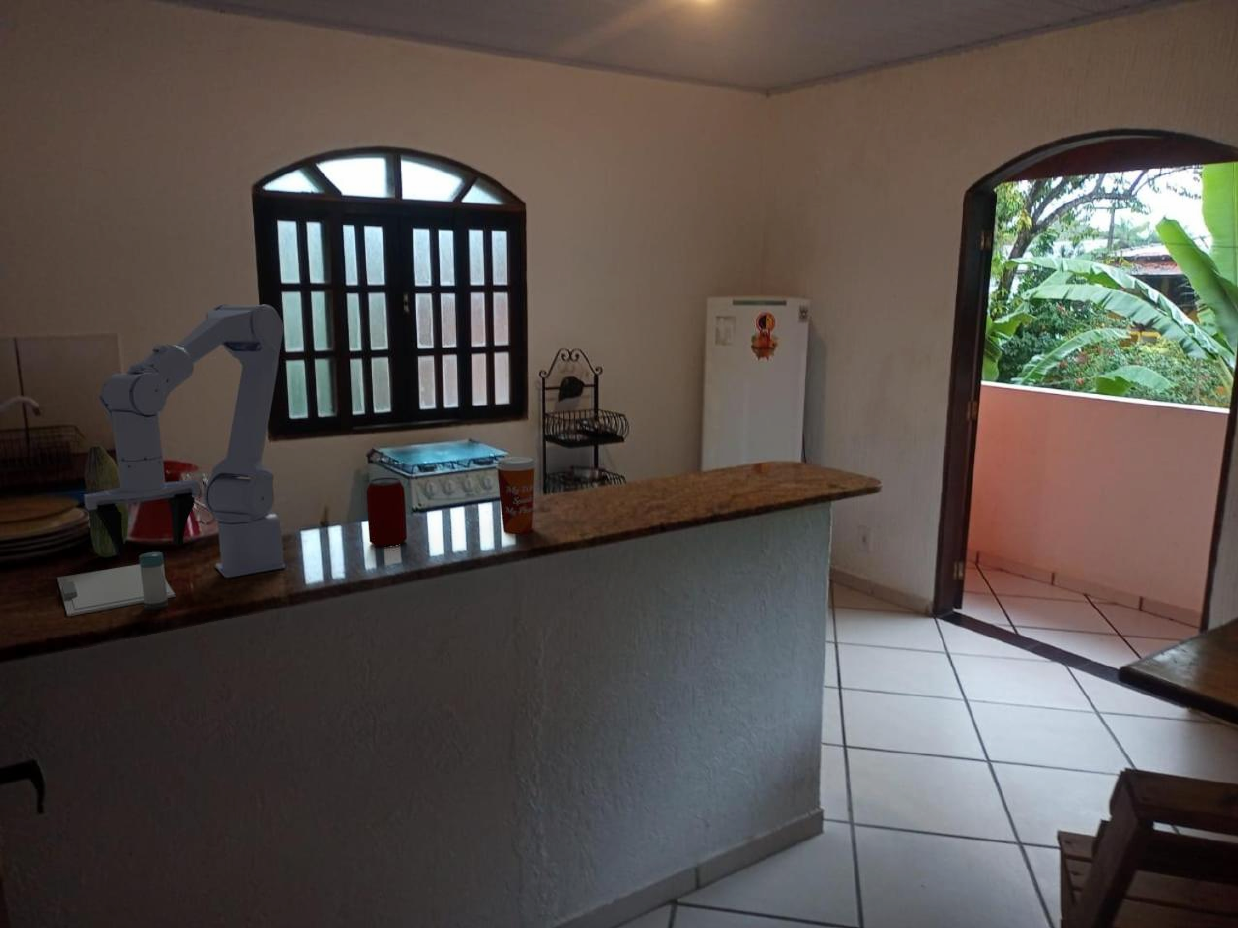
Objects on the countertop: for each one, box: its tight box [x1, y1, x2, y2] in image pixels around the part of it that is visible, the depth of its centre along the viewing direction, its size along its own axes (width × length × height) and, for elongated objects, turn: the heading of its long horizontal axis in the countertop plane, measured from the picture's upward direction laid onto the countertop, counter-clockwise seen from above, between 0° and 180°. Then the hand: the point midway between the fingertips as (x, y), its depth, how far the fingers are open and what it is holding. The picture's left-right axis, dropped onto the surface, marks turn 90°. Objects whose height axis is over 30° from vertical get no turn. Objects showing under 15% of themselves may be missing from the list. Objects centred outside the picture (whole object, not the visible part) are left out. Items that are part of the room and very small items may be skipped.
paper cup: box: [495, 456, 537, 535], centre depth 167 cm, size 8×8×14 cm
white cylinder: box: [138, 551, 169, 611], centre depth 126 cm, size 3×3×8 cm
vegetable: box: [84, 444, 130, 558], centre depth 149 cm, size 6×6×20 cm
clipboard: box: [57, 563, 176, 618], centre depth 135 cm, size 14×20×1 cm
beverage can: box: [366, 477, 408, 548], centre depth 158 cm, size 7×7×12 cm
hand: (150, 549), depth 125 cm, fingers open, 7 cm apart
